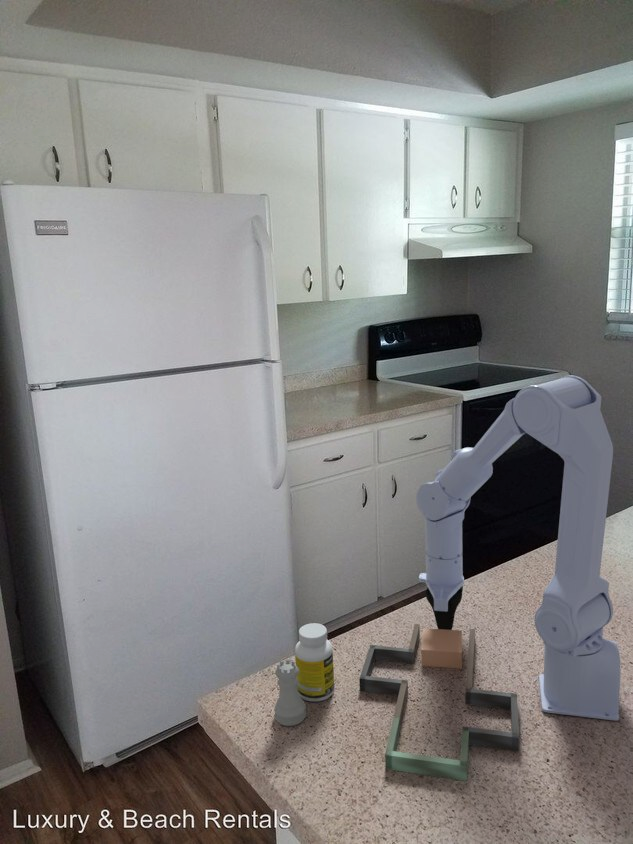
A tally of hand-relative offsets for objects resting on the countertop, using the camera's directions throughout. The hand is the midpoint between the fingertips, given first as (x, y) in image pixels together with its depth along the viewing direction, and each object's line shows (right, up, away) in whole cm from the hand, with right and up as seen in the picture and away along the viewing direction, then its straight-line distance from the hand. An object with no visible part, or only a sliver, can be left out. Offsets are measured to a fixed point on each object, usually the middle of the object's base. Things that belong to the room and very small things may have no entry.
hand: (445, 629), depth 106 cm
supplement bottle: (-21, -5, -12) cm, 25 cm away
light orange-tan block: (-1, -3, -5) cm, 6 cm away
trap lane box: (-4, -5, -14) cm, 15 cm away
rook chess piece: (-24, -7, -17) cm, 31 cm away
